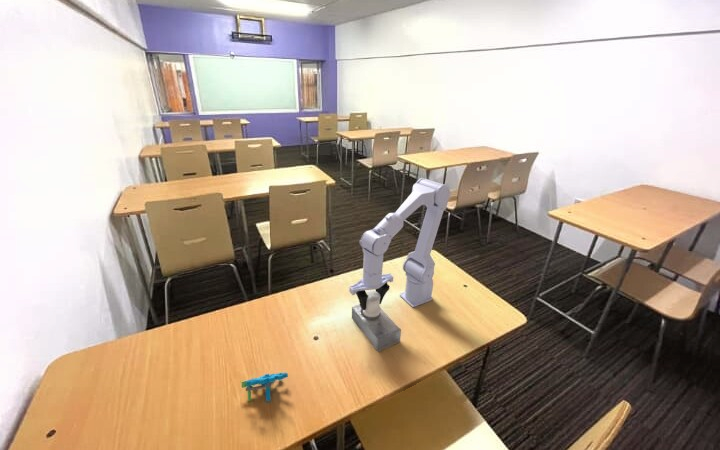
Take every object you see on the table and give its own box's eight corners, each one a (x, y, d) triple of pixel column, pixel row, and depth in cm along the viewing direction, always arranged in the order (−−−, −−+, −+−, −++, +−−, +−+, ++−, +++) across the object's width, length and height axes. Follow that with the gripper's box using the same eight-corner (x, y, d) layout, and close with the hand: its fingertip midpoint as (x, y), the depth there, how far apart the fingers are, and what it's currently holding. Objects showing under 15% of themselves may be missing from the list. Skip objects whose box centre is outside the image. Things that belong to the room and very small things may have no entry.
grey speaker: (372, 309, 104) (373, 299, 102) (400, 341, 91) (401, 330, 89) (351, 317, 100) (351, 306, 98) (377, 351, 87) (378, 340, 85)
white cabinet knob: (376, 303, 99) (376, 288, 96) (383, 314, 94) (383, 299, 91) (360, 308, 97) (359, 293, 94) (367, 319, 92) (366, 303, 89)
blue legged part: (291, 368, 80) (282, 373, 70) (293, 393, 78) (284, 402, 68) (249, 375, 79) (234, 382, 70) (250, 400, 77) (235, 410, 68)
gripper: (385, 256, 95) (382, 291, 101) (344, 268, 89) (344, 304, 94) (398, 267, 90) (395, 303, 96) (356, 281, 83) (355, 319, 89)
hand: (370, 305), depth 95 cm, fingers closed on white cabinet knob, 5 cm apart
